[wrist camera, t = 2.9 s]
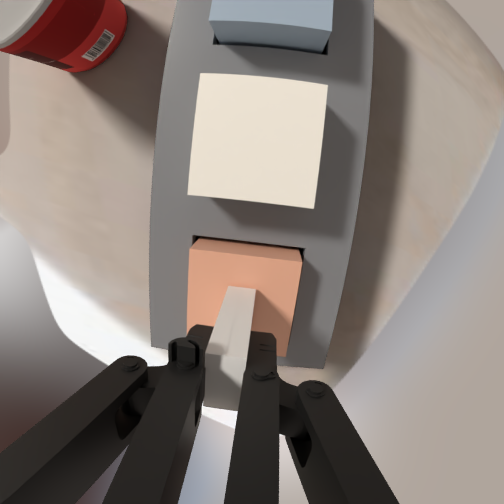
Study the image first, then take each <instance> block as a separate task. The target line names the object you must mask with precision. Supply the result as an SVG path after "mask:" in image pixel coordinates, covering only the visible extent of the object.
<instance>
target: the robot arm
mask: <svg viewBox="0 0 504 504" xmlns="http://www.w3.org/2000/svg"><path fill="white" fill-rule="evenodd" d="M255 293H256V289H251V288H243V287H235V286H228V288H227V291H226V294H225V297H224V300H223V303H222V305H221V308H220V311H219V314H218V317H217V320H216V323H215V326H207V325H200V324H196V325H195V326H193V327H192V328H190V330H189V332H188V334H187V336H186V337H181V338H176V339H173V340H171V341H170V342H169V343H168V357H169V362H168V364H167V365H164V366H150V367H147V363H146V361H145V360H144V359H142V358H141V357H137V356H123V357H121V358H119V359H117V360H116V361H114V362H113V363H112V364H111V365H109V366H108V367H107V368H106V369H105V370H103V371H102V372H101V373H99V374H98V375H97V376H96V377H94V378H93V379H92V380H91V381H89V382H88V383H87V384H86V385H84V386H83V387H82V388H81V389H79V390H78V391H77V392H76V393H74V394H73V395H72V396H71V397H70V398H68V399H67V400H66V401H65V402H63V403H62V404H61V405H60V406H58V407H57V408H56V409H55V410H53V411H52V412H51V413H50V414H48V415H47V416H46V417H45V418H43V419H42V420H41V421H40V422H38V423H37V424H36V425H35V426H33V427H32V428H31V429H30V430H28V431H27V432H26V433H25V434H23V435H22V436H21V437H20V438H19V439H17V440H16V441H15V442H13V443H12V444H11V445H10V446H9V447H7V448H6V449H5V450H4V451H2V452H1V453H0V504H75V503H76V502H77V501H78V500H79V499H80V498H81V497H82V496H83V495H84V493H85V492H86V491H87V490H88V489H89V488H90V487H91V486H92V485H93V484H94V483H95V481H96V480H97V479H98V478H99V477H100V476H101V475H102V474H103V473H104V471H105V470H106V469H107V468H108V467H109V466H110V465H111V464H112V463H113V461H114V460H115V459H116V458H117V457H118V456H119V455H120V454H121V452H122V451H123V450H124V449H125V448H126V447H127V446H128V445H129V446H128V448H127V450H126V452H125V454H124V457H123V459H122V461H121V463H120V465H119V467H118V470H117V472H116V474H115V476H114V479H113V481H112V483H111V485H110V487H109V489H108V492H107V494H106V496H105V498H104V501H103V503H102V504H178V500H179V497H180V493H181V489H182V485H183V482H184V478H185V474H186V470H187V466H188V462H189V459H190V455H191V452H192V448H193V444H194V440H195V436H196V433H197V429H198V426H199V422H200V418H201V408H202V403H203V406H206V407H212V408H219V409H226V410H233V411H238V414H237V421H236V427H235V435H234V441H233V447H232V454H231V461H230V467H229V473H228V480H227V486H226V493H225V499H224V504H279V434H282V435H285V439H286V442H287V445H288V448H289V450H290V453H291V456H292V459H293V461H294V464H295V467H296V470H297V473H298V475H299V478H300V481H301V483H302V486H303V489H304V491H305V494H306V497H307V500H308V502H309V504H399V502H398V501H397V499H396V497H395V496H394V494H393V492H392V490H391V489H390V487H389V485H388V484H387V482H386V480H385V479H384V477H383V475H382V473H381V472H380V470H379V468H378V467H377V465H376V464H375V462H374V460H373V458H372V456H371V455H370V453H369V452H368V450H367V448H366V446H365V445H364V443H363V441H362V439H361V438H360V436H359V434H358V433H357V431H356V429H355V428H354V426H353V424H352V422H351V421H350V419H349V417H348V416H347V414H346V412H345V411H344V409H343V407H342V406H341V404H340V402H339V400H338V399H337V397H336V395H335V394H334V392H333V390H332V389H331V388H330V387H329V386H328V385H327V384H325V383H323V382H320V381H316V380H309V381H304V382H302V383H301V384H299V386H294V385H291V384H289V383H286V382H285V381H283V380H282V379H281V378H280V377H279V375H278V373H277V339H276V338H275V337H274V335H273V334H272V333H267V332H258V331H251V326H252V318H253V309H254V301H255Z"/></svg>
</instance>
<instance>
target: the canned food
mask: <svg viewBox="0 0 504 504" xmlns="http://www.w3.org/2000/svg"><path fill="white" fill-rule="evenodd" d="M126 26H127V14H126V10H125V7H124V5H123V3H122V1H121V0H0V51H2V52H5V53H9V54H13V55H16V56H20V57H23V58H27V59H30V60H33V61H37V62H40V63H43V64H46V65H49V66H53V67H56V68H59V69H62V70H65V71H68V72H81V71H86V70H90V69H92V68H94V67H96V66H98V65H99V64H101V63H102V62H104V61H105V60H106V59H107V58H108V57H109V56H110V55H111V54H112V53H113V52H114V51H115V49H116V48H117V47H118V45H119V44H120V42H121V40H122V38H123V36H124V33H125V31H126Z"/></svg>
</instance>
